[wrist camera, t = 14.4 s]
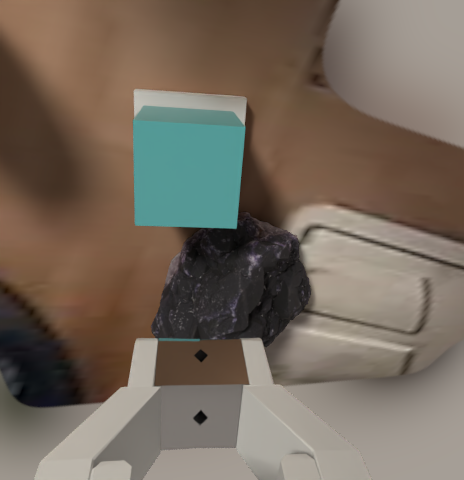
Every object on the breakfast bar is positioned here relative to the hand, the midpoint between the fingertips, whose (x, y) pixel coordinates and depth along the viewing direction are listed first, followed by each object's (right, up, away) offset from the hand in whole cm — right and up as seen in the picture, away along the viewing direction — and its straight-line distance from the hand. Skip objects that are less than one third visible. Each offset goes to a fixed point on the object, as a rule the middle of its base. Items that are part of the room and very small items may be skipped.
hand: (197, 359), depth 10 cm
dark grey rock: (+1, 0, +28) cm, 28 cm away
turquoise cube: (-2, +9, +20) cm, 22 cm away
